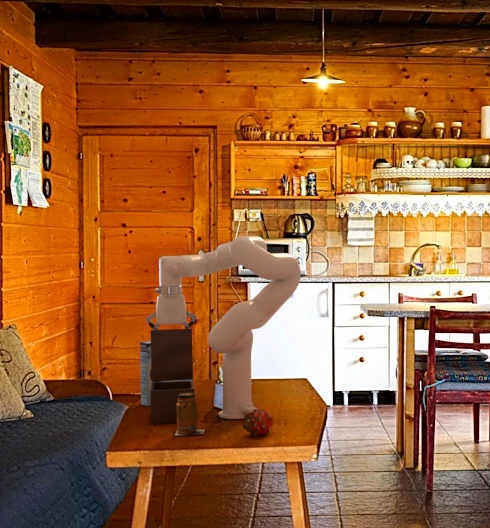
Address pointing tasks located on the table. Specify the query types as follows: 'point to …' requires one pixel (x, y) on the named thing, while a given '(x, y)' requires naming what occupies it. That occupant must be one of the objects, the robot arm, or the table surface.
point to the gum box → (147, 373)
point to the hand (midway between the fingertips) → (171, 340)
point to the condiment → (187, 415)
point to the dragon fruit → (258, 422)
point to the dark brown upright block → (171, 355)
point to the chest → (167, 400)
